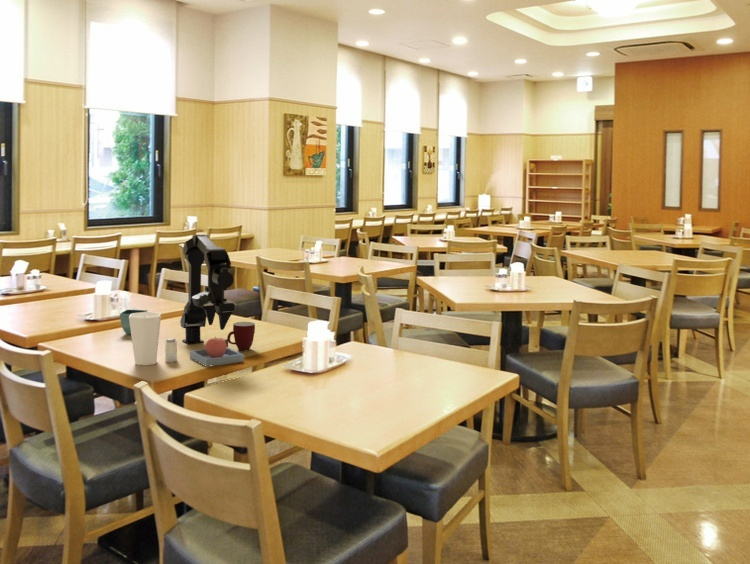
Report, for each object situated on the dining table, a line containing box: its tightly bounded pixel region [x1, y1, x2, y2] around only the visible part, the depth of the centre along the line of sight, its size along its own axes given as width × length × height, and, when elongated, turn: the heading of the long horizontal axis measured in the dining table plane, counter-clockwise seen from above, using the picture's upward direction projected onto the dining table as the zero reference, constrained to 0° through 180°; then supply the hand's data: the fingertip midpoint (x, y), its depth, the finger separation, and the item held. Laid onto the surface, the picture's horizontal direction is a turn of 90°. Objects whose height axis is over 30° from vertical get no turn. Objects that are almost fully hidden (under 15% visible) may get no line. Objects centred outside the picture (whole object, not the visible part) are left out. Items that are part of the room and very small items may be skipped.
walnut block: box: [220, 337, 229, 348], centre depth 272 cm, size 4×4×4 cm
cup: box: [129, 311, 162, 366], centre depth 249 cm, size 11×10×17 cm
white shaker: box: [164, 337, 178, 363], centre depth 254 cm, size 4×4×8 cm
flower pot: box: [119, 309, 149, 335], centre depth 293 cm, size 9×9×9 cm
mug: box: [226, 321, 256, 352], centre depth 272 cm, size 11×8×10 cm
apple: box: [204, 336, 227, 358], centre depth 257 cm, size 7×7×8 cm
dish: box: [189, 346, 244, 367], centre depth 257 cm, size 14×14×3 cm
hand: (216, 327), depth 256 cm, fingers open, 9 cm apart
